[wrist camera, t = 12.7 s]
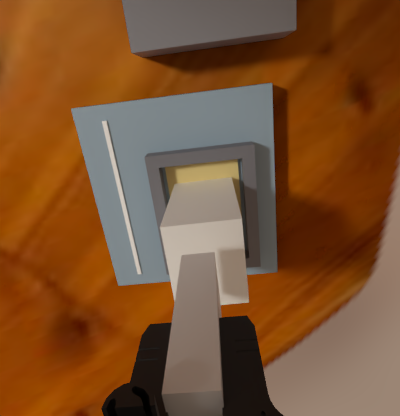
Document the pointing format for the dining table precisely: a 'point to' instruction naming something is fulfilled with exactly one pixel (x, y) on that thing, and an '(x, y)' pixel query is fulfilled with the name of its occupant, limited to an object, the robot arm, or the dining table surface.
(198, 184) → the plug
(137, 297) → the dining table surface
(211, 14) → the grey push button box
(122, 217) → the board
